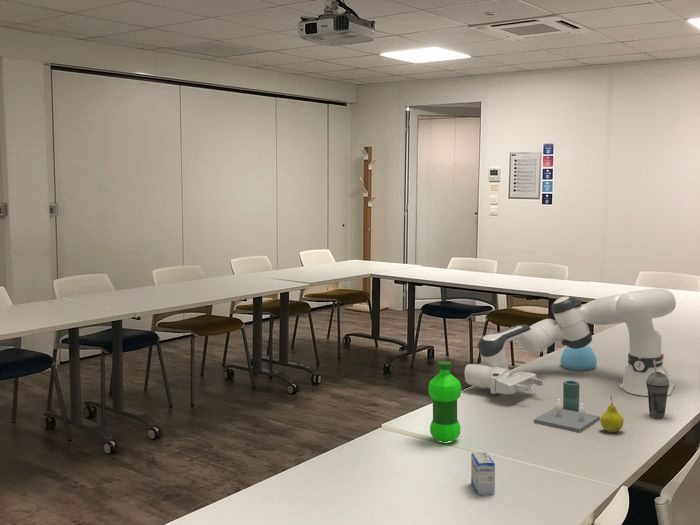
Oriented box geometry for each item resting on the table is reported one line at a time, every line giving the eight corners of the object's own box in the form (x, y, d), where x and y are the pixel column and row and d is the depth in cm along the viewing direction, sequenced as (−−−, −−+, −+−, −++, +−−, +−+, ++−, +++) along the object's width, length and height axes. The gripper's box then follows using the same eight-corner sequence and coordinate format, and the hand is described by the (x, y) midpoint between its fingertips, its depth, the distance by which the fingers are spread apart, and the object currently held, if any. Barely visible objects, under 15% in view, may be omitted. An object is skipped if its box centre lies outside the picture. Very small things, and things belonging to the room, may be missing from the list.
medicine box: (470, 483, 194) (470, 452, 193) (487, 482, 194) (487, 451, 193) (478, 495, 186) (478, 463, 185) (495, 494, 186) (495, 462, 185)
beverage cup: (670, 421, 239) (672, 362, 237) (647, 420, 241) (648, 361, 238) (665, 414, 246) (667, 357, 244) (643, 413, 248) (644, 356, 246)
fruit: (606, 426, 235) (607, 391, 234) (627, 431, 231) (627, 394, 229) (596, 432, 231) (597, 395, 229) (617, 437, 226) (618, 399, 224)
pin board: (555, 410, 253) (555, 390, 252) (599, 419, 242) (600, 399, 241) (533, 422, 241) (534, 401, 240) (579, 432, 230) (580, 410, 230)
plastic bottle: (441, 448, 219) (440, 368, 217) (422, 438, 229) (421, 361, 226) (468, 442, 224) (467, 364, 221) (448, 432, 233) (447, 357, 231)
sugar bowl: (558, 370, 307) (558, 343, 306) (562, 362, 321) (562, 336, 320) (595, 372, 302) (595, 345, 301) (597, 364, 316) (598, 338, 314)
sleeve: (567, 407, 257) (567, 379, 256) (580, 409, 253) (581, 382, 252) (561, 410, 253) (561, 382, 252) (574, 413, 250) (575, 385, 249)
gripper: (516, 382, 278) (549, 388, 269) (488, 394, 263) (522, 401, 254) (516, 366, 278) (549, 371, 269) (488, 377, 263) (522, 383, 253)
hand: (536, 386), depth 261 cm, fingers open, 8 cm apart
